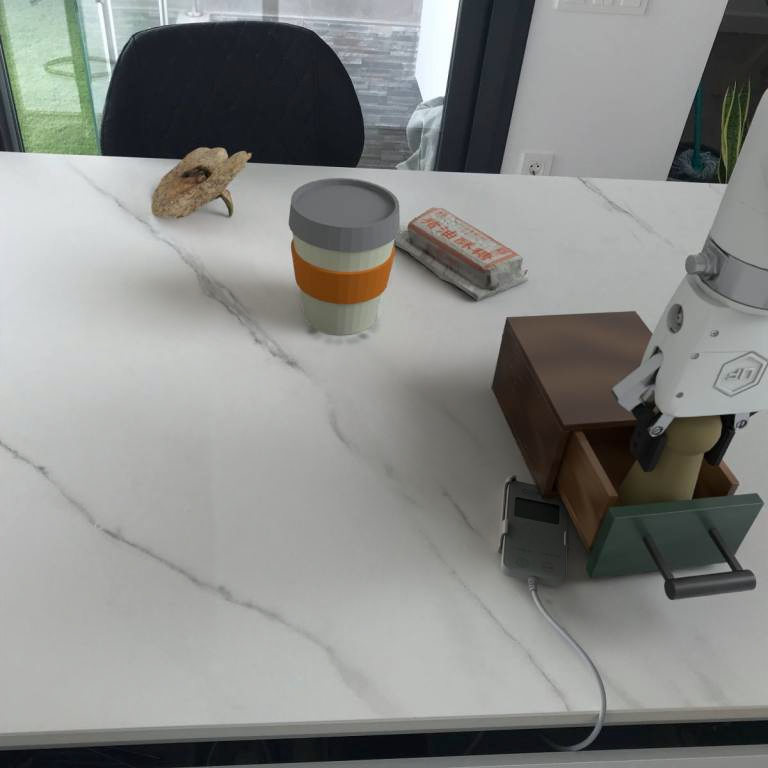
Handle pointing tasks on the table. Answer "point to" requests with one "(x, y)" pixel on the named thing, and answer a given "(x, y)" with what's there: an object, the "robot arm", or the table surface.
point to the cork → (673, 463)
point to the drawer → (654, 518)
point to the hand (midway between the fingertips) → (673, 455)
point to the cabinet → (564, 381)
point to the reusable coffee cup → (342, 251)
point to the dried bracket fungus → (197, 182)
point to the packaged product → (461, 254)
